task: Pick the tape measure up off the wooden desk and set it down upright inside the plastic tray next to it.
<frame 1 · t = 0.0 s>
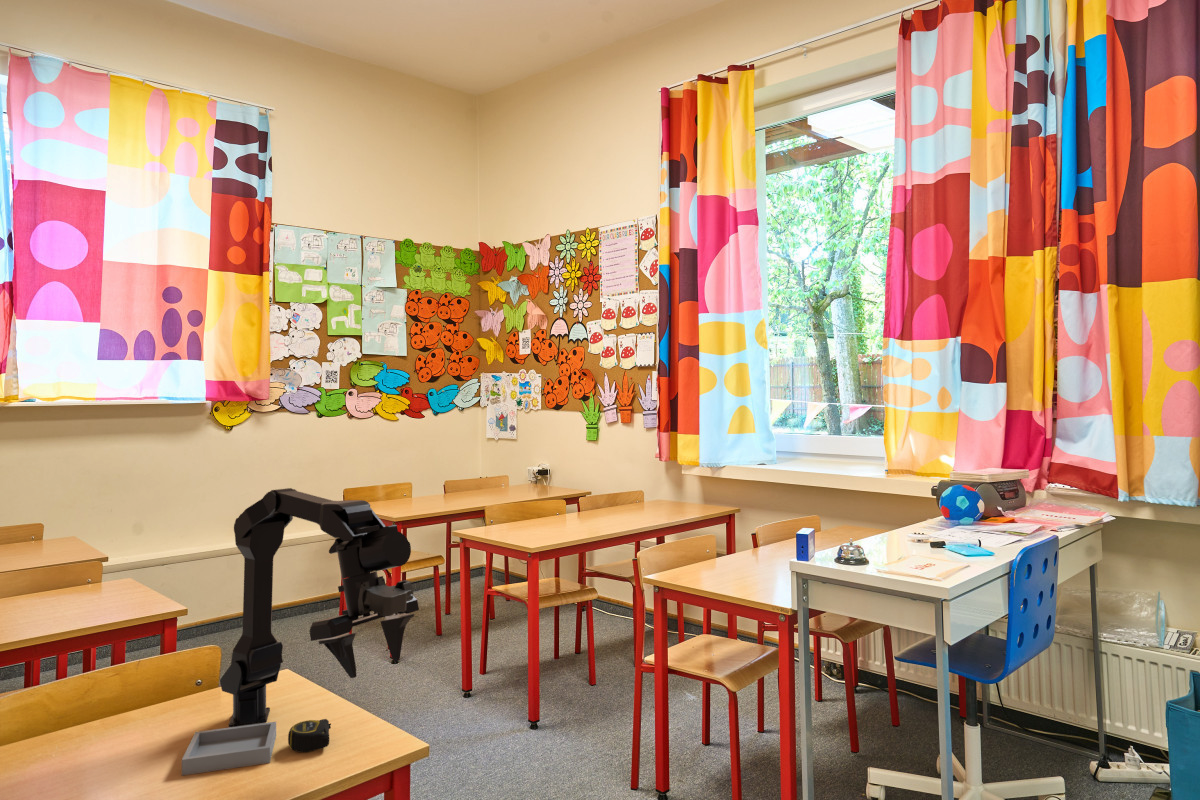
hand: (375, 669, 123), 15 cm above the table, fingers open, 9 cm apart
tray: (231, 754, 127), on the table
tape measure: (313, 747, 130), on the table
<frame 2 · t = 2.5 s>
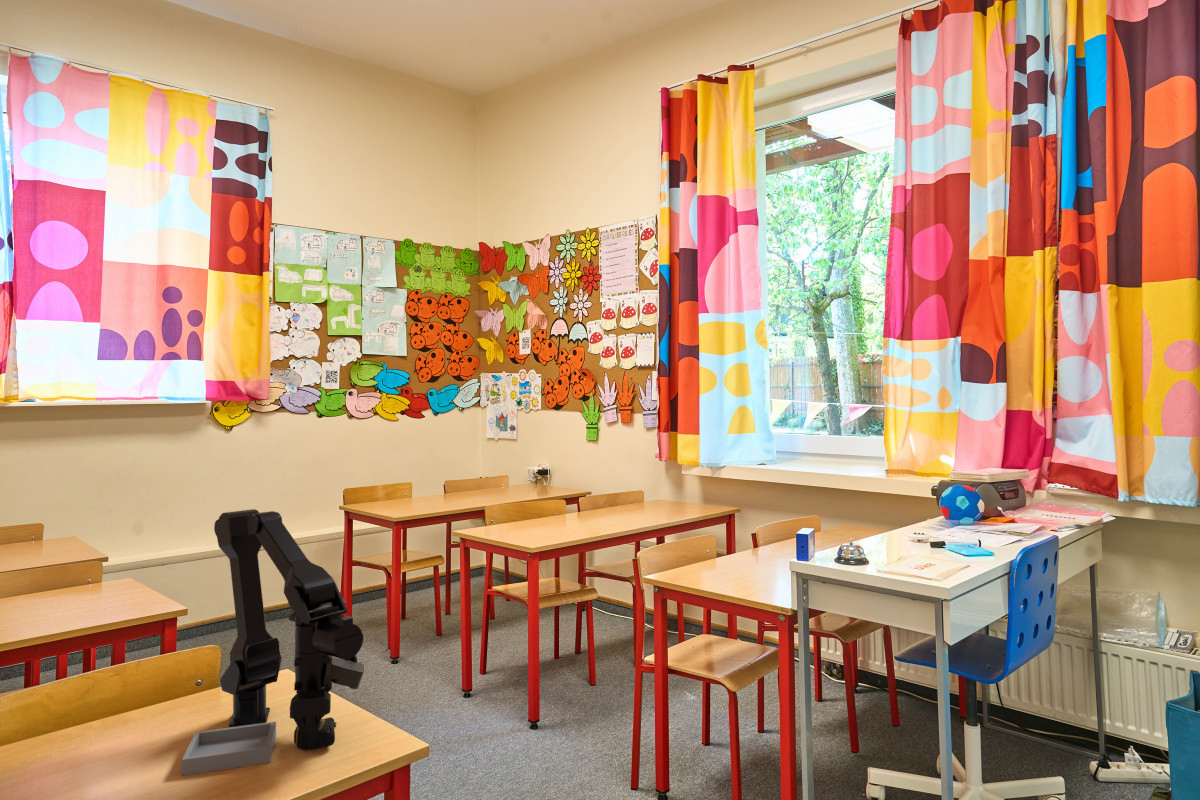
hand: (313, 738, 130), 1 cm above the table, fingers closed on tape measure, 7 cm apart
tape measure: (319, 745, 130), on the table, touching gripper
when the fingers open (3 cm above the table, at t = 7.7 s): tape measure drops 2 cm, resting on tray.
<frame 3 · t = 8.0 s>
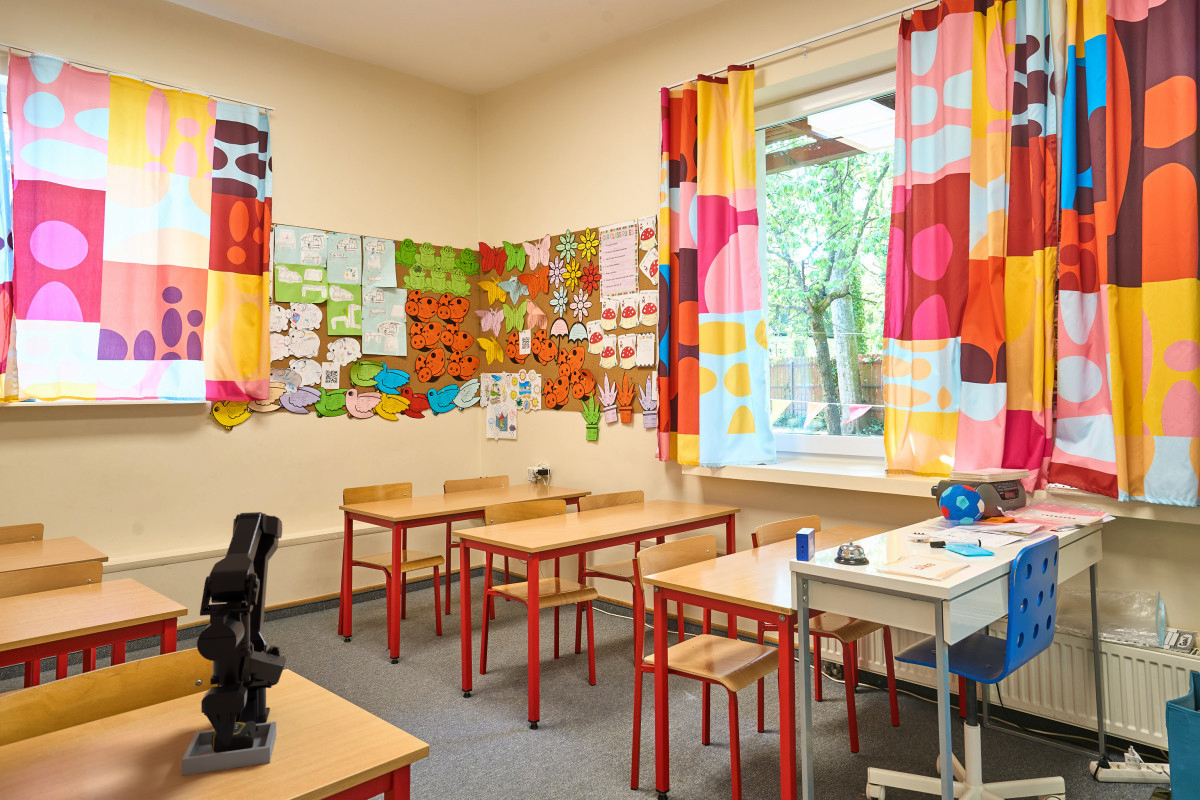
hand: (231, 733, 127), 3 cm above the table, fingers open, 9 cm apart
tape measure: (238, 749, 127), resting on tray
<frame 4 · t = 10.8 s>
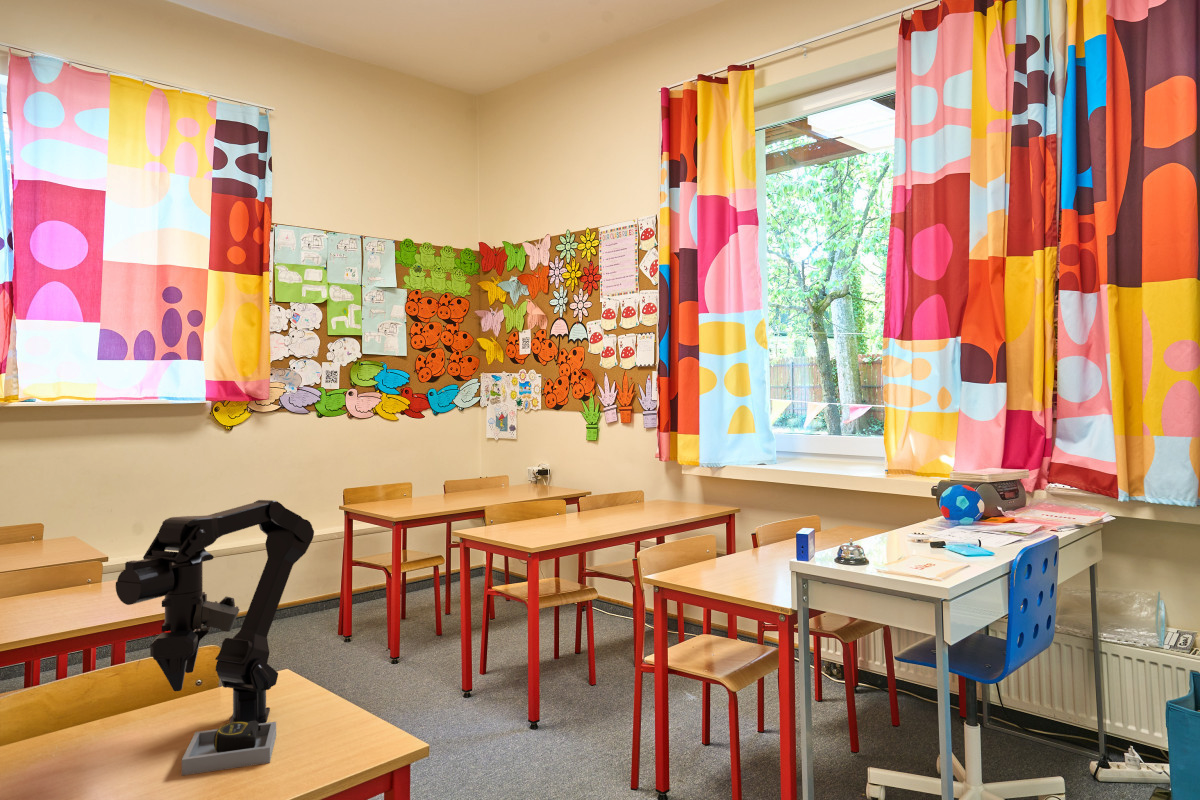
hand: (183, 681, 128), 12 cm above the table, fingers open, 9 cm apart
nothing on the table moved.
at the end: tape measure 1.5 cm off-centre on the tray, point 0.4 cm above the tray's base; tape measure tilted 0°; the gripper is holding nothing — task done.
